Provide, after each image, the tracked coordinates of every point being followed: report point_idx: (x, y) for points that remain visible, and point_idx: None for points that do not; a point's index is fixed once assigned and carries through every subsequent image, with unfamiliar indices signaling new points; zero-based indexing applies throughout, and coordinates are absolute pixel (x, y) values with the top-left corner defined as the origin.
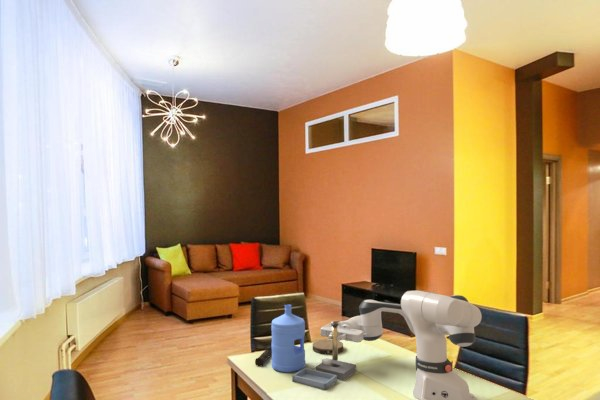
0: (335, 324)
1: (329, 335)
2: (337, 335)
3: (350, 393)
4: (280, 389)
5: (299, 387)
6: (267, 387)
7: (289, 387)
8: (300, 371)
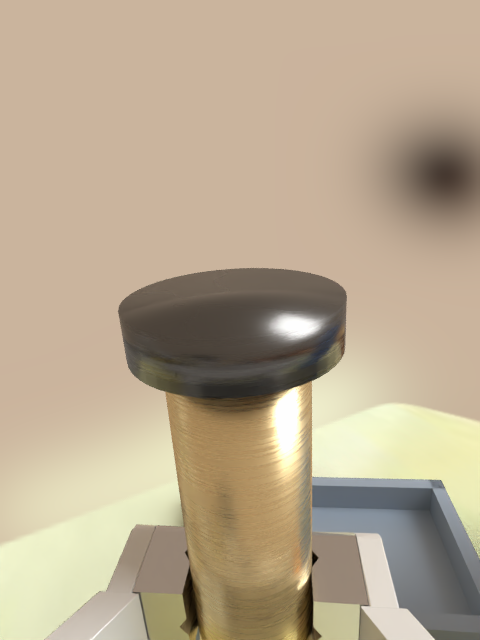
0: (182, 276)
1: (365, 534)
2: (189, 556)
3: (72, 527)
4: (401, 433)
5: (347, 475)
6: (461, 425)
7: (386, 458)
8: (461, 546)
